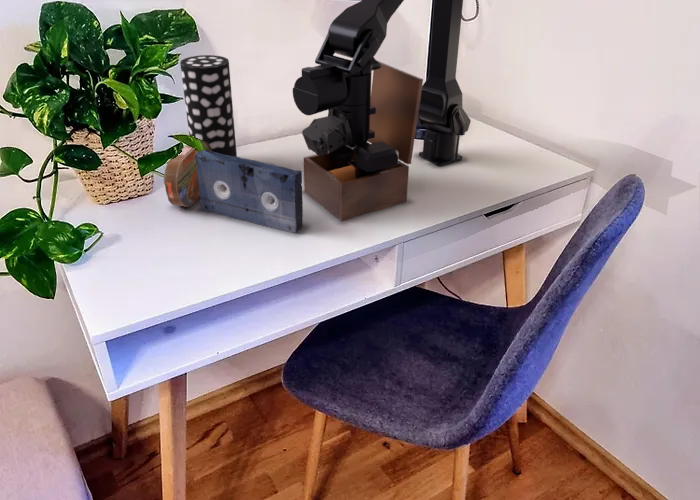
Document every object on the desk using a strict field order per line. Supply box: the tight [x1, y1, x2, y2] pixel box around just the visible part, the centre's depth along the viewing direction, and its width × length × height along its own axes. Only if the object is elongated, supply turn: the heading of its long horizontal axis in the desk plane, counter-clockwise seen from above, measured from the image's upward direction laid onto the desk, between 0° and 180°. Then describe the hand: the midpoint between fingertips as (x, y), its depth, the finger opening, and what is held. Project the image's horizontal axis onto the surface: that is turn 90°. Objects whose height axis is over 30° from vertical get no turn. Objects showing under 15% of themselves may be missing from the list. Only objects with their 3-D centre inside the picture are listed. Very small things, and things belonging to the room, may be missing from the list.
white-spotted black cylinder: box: [179, 54, 238, 157], centre depth 114 cm, size 8×8×20 cm
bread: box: [328, 166, 356, 182], centre depth 107 cm, size 8×5×5 cm
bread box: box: [303, 149, 410, 222], centre depth 108 cm, size 13×12×7 cm
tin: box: [163, 141, 212, 208], centre depth 107 cm, size 15×3×8 cm, turn 168°
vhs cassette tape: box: [195, 149, 304, 234], centre depth 100 cm, size 18×3×10 cm, turn 64°
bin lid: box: [367, 60, 424, 165], centre depth 106 cm, size 14×12×1 cm
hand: (351, 188), depth 108 cm, fingers closed on bread, 5 cm apart
